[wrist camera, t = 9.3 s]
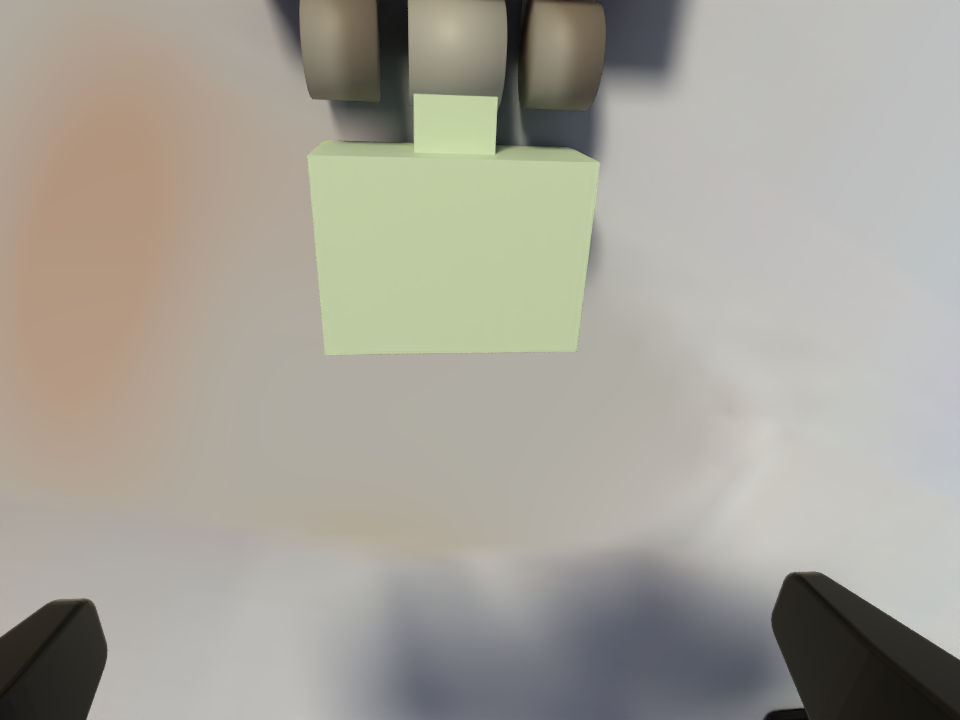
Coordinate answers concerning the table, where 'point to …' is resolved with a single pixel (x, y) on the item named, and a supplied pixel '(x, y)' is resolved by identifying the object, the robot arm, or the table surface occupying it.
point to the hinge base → (541, 65)
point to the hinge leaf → (452, 212)
